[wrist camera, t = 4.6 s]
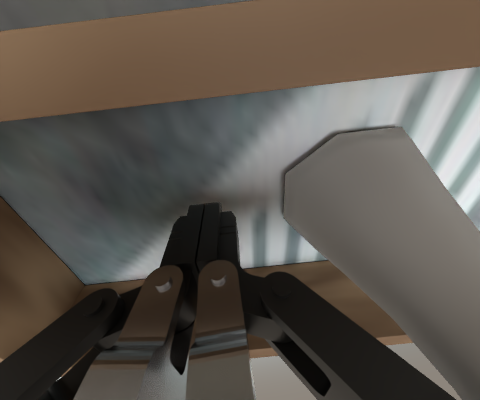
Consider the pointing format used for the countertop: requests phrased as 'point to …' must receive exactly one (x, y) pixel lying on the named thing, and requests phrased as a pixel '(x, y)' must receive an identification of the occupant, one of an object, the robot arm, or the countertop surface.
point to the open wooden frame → (205, 86)
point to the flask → (396, 242)
